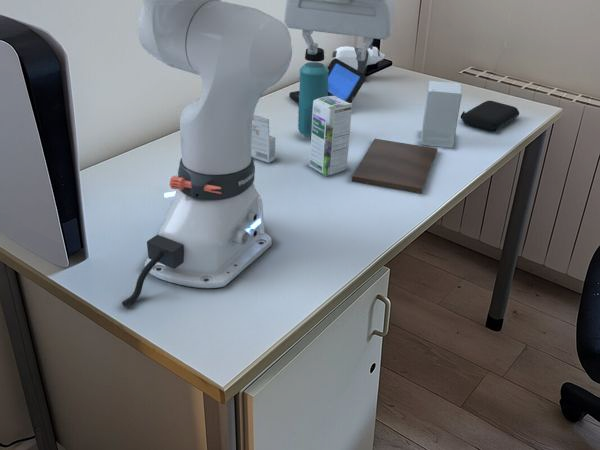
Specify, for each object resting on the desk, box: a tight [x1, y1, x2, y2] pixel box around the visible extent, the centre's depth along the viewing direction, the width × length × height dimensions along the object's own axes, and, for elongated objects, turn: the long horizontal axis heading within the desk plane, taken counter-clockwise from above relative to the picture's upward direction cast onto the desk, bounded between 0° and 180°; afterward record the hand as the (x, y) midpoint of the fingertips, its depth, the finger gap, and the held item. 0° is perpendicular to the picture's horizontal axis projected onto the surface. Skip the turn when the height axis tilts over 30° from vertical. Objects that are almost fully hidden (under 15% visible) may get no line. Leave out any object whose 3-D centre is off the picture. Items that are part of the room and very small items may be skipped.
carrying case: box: [460, 100, 520, 133], centre depth 164 cm, size 11×3×15 cm
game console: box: [288, 58, 367, 105], centre depth 169 cm, size 16×14×9 cm
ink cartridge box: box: [251, 114, 276, 164], centre depth 141 cm, size 2×11×10 cm, turn 56°
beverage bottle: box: [297, 47, 329, 137], centre depth 148 cm, size 6×7×20 cm
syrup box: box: [309, 96, 353, 177], centre depth 136 cm, size 6×6×14 cm
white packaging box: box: [420, 80, 463, 149], centre depth 150 cm, size 7×7×13 cm
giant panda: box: [331, 43, 386, 83], centre depth 186 cm, size 15×6×10 cm, turn 93°
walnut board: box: [351, 138, 439, 195], centre depth 141 cm, size 20×14×1 cm
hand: (336, 56), depth 128 cm, fingers open, 8 cm apart
